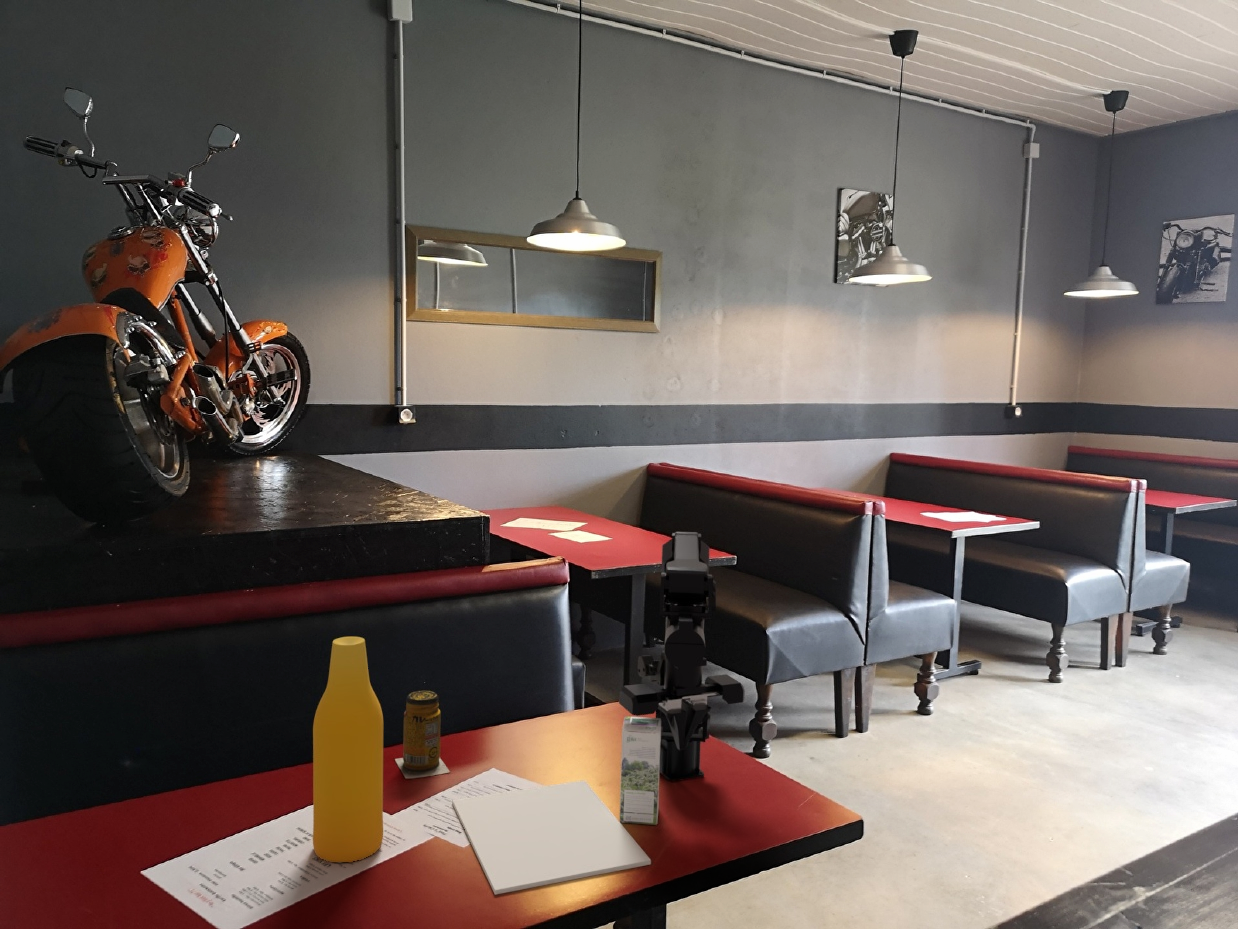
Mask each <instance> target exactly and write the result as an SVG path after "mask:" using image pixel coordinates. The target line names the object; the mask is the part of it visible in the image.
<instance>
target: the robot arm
mask: <svg viewBox="0 0 1238 929" xmlns="http://www.w3.org/2000/svg"><path fill="white" fill-rule="evenodd" d="M709 571H710V546H709V545H708V544H707V543H705V542H704V541H703V540H702V534H701V533H698V532H696V531H693V532H692V531H675V532H672V534H671V539H669V540H668V541H667V542H665V543H664V544H662V547H661V575H660V597H659V617H665V636H664V647H663V648H664V650H661V652H660V657H659V658H660V659H659V660H658V659H657V660H655V659H654V656H653V655H652V654H650V655H641V656H638V658H637V674H638V676H639V677H640V678H643V677H645V678H646V677H648V680H649V683H651V682H652V683H653V682H656V685H658V686H662V689H661V688H660V689H652V688H650V686H648V685H646V684H645V683H638V684H631V685H629V684H628V685H627V684H626V685H623V686H622V687H621V689H620V691H619V692H618V704H619V705H621V707H623V708H624V709H625V710H626V711H628V712H629V713H630V714H631V715H632V716H635V717H641V716H647V715H653V714H655V718H661V744H660V767H659V774H661V775H662V776H663V777H664V778H665V779H666V780H667V781H668V782H675V781H682V780H688V779H689V780H690V779H696V777H697V778H702V777H704V776H705V772H704V771H702V770H701V743H706V740H709V739H710V726H711V714H710V712H711V711H712V707H711V706H710V705H709V704H708V698H712V697H720V696H722V697H721V699H722V700H723V701H724V702H725V703H726V704H727V705H734V704H742V703H744V702H745V688H744V685H743V684H742V683H741V682H740V681H738V680H736V678H733V677H732V676H730V675H728V674H716V675H708V676H707V677H705V680H704V683H703V667H706V666H707V664H708V658H706V657H705V655H706V640H705V639H706V638H705V633H704V632H705V619H709V620H710V619H711V620H712V617H713V615H712V613H713V612H716V611H717V610H716V608H717V606H716V605H717V602H716V601H717V596H716V595H717V594H716V593H717V589H716V588H717V587H716V586H717V583H716V581H715V580H714V576H713V575H712V574H709V573H710V572H709ZM664 603H665V604H664ZM706 605H707V610H706ZM664 606H665V607H664Z"/></svg>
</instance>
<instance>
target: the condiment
mask: <svg viewBox="0 0 1238 929" xmlns="http://www.w3.org/2000/svg"><path fill="white" fill-rule="evenodd" d="M439 699H440V698H439V695H438V694H437V693H436V692H435V691H431V690H417V691H413V692H411V693H409V694H408V695H407V697H406V705H405V707H406V709H405V711H404V713H403V743H402V746H403V747H402V748H403V749H402V750H403V751H402V755H403V757H399V758H395V759H394V760H395V763H396V764H397V767H398V768H399V770H400V771H401V773H402V775H403V776H404V778H405V779H417V778H425V777H429V776H430V777H433V776H435V775H436V776H437V775H442V774H447V773H451V771H450V770H449V768H448V766H446V764H445V762H444V761H443V760H442V759H441V724H442V723H441V722H442V721H441V710H440V709H439V705H440V704H439Z"/></svg>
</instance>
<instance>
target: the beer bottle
mask: <svg viewBox="0 0 1238 929" xmlns="http://www.w3.org/2000/svg"><path fill="white" fill-rule="evenodd" d="M331 645H332V646H331V652H330V653H331V654H330V663H329V669H328V670H329V672H328V679H327V684H326V688H325V691H324V692H323V694H322V697H321V698H320V701H319V702H318V705H317V708H316V710H315V713H314V714H315V715H314V719H313V725H312V738H313V739H312V745H313V750H312V752H313V753H312V754H313V755H312V758H313V759H312V761H313V762H312V763H313V764H312V765H313V768H312V769H313V772H312V774H313V776H312V780H313V781H312V782H313V786H312V787H313V789H312V793H313V795H312V796H313V800H312V802H313V803H312V804H313V805H312V806H313V812H312V813H313V814H312V815H313V823H312V824H313V828H312V829H313V830H312V845H313V846H312V847H313V849H314V850H313V851H314V853H315V855H316V856H317V857H318V858H319V857H320V859H321V860H322V859H324V860H323V861H325V860H327V861H326V862H328V861H331V862H330V863H332V862H349V863H354V862H353V861H355V862H358V861H357V860H359V861H361V859H362V860H364V858H365V859H367V858H369V857H371V856H372V855H374V854H375V853H376V852H377V851H378V850H379V849H380V847H381V845H382V843H383V839H384V819H383V818H384V813H383V812H384V808H383V807H384V805H383V804H384V800H383V799H384V792H383V791H384V715H383V711H382V706H381V703H380V701H379V699H378V697H377V694H376V693H375V691H374V690H373V687H372V685H371V682H370V675H369V674H370V673H369V669H368V668H369V667H368V666H369V665H368V664H369V663H368V656H367V648H366V640H365V638H363V637H360V636H342V637H339V638H335V639H333V641H332V644H331ZM373 853H374V854H373ZM370 855H371V856H370ZM368 856H369V857H368ZM366 857H367V858H366Z"/></svg>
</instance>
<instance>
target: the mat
mask: <svg viewBox="0 0 1238 929" xmlns="http://www.w3.org/2000/svg"><path fill="white" fill-rule="evenodd" d="M451 802H452V806H453V808H454V811H455V814H457V817H458V819H459V822H460V823H461V825H463V826H462V827H464V828H463V829H465V830H464V831H465V834H466V836H467V835H468V836H467V838H468V841H469V842H471V843H470V844H471V848H472V849H473V851H474V853H475V855H476V858H477V859H478V863H480V865H481V869H482V871H483V872H484V874H485V877H486V879H487V880H488V884H489V885H490V887H491V889H492V891H493V893H494V895H501V894H505V893H510V892H517V891H520V890H526V889H531V888H536V887H537V888H538V887H541V886H547V885H552V884H556V883H561V882H567V881H573V880H577V879H582V878H588V877H592V876H596V875H597V876H598V875H599V876H600V875H603V874H609V873H613V872H614V873H615V872H619V871H622V870H629V869H633V868H638V867H643V866H644V867H645V866H648V865H649V866H651V865H652V860H651V858H650V857H649V855H648V854H646V852H645V851H644V850H643V849H642V848H641V846H640V845H639V844H638V843H637V842H636V840H635V839H634V838H633V836H632V835H631V834H630V833H629V832H628V830H626V828H625V827H624V826H623V824H622V823H621V822H620V820H619V819H618V818H617V817H616V816H615V815H614V814H613V812H612V811H611V810H610V809H609V807H608V806H607V805H606V804H605V803H604V801H602V799H601V798H600V797H599V795H598V794H597V792H595V791H594V790H593V788H592V787H591V786H590V785H589V783H588V782H587V781H586V780H585V779H583V780H578V781H576V780H575V781H569V782H563V783H557V784H550V785H543V786H537V787H530V788H529V787H528V788H523V789H515V790H511V791H509V790H508V791H503V792H498V793H496V792H495V793H489V794H484V795H478V796H477V795H476V796H470V797H469V796H468V797H465V798H457V799H452V801H451Z"/></svg>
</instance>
